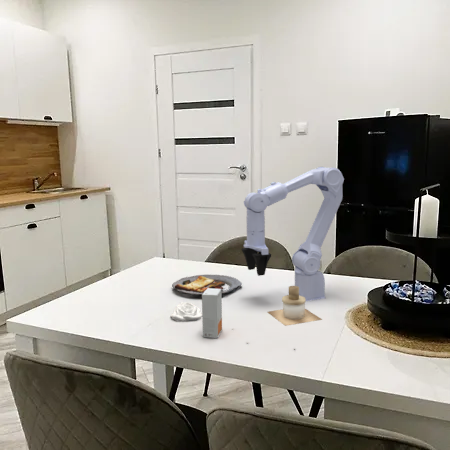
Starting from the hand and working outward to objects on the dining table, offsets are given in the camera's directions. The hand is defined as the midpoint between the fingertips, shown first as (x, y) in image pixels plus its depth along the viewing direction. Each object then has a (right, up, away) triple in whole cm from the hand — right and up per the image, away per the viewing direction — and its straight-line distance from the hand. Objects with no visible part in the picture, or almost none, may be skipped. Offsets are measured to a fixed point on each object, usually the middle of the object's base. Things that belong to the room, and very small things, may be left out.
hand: (256, 272), depth 146 cm
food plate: (-17, -8, +19) cm, 27 cm away
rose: (-22, -13, -9) cm, 27 cm away
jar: (+10, -12, -12) cm, 19 cm away
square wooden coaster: (+10, -12, -11) cm, 20 cm away
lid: (+10, -7, -12) cm, 18 cm away
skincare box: (-13, -15, -22) cm, 30 cm away
